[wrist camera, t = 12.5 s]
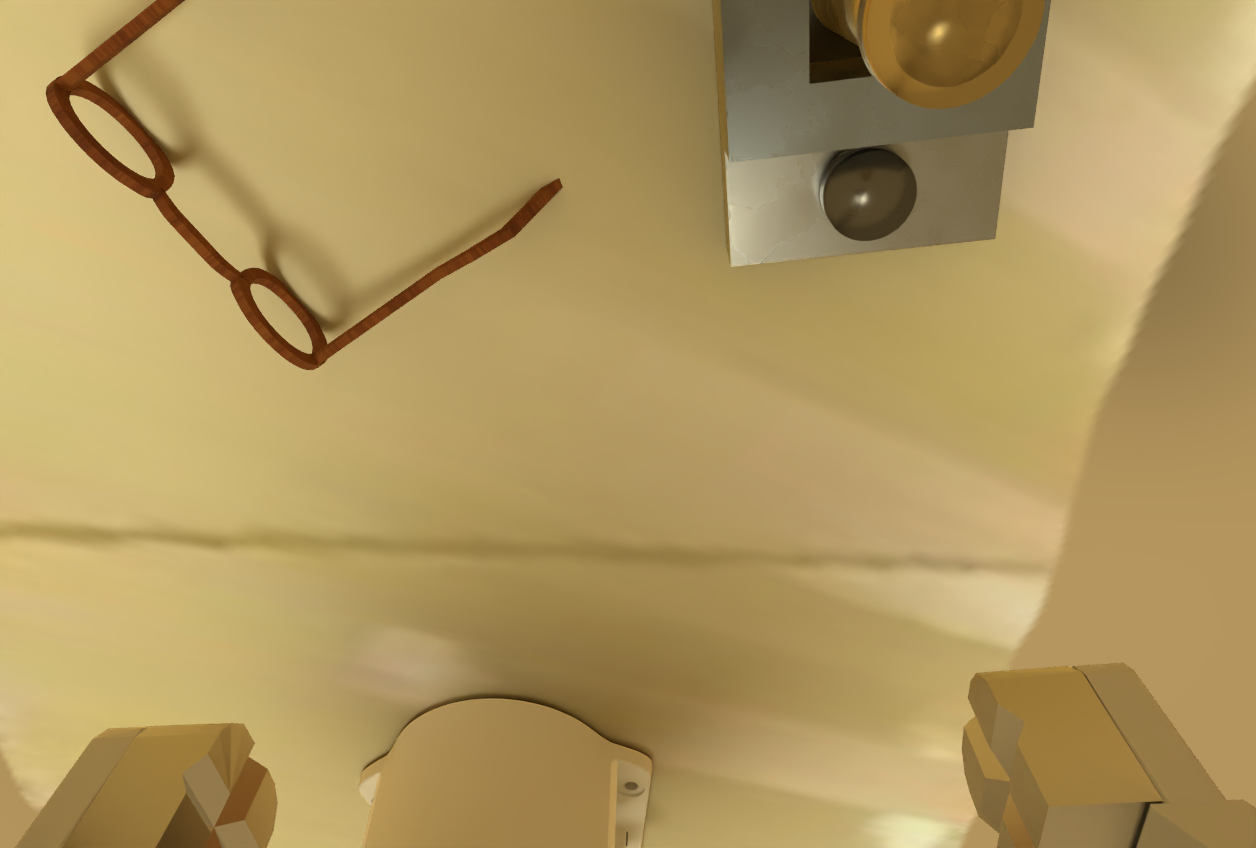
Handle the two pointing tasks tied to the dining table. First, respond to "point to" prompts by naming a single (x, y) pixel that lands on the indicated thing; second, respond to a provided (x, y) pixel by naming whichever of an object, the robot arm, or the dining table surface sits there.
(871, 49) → the pin
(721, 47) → the metal plate with knobs
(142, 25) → the glasses
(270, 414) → the dining table surface
